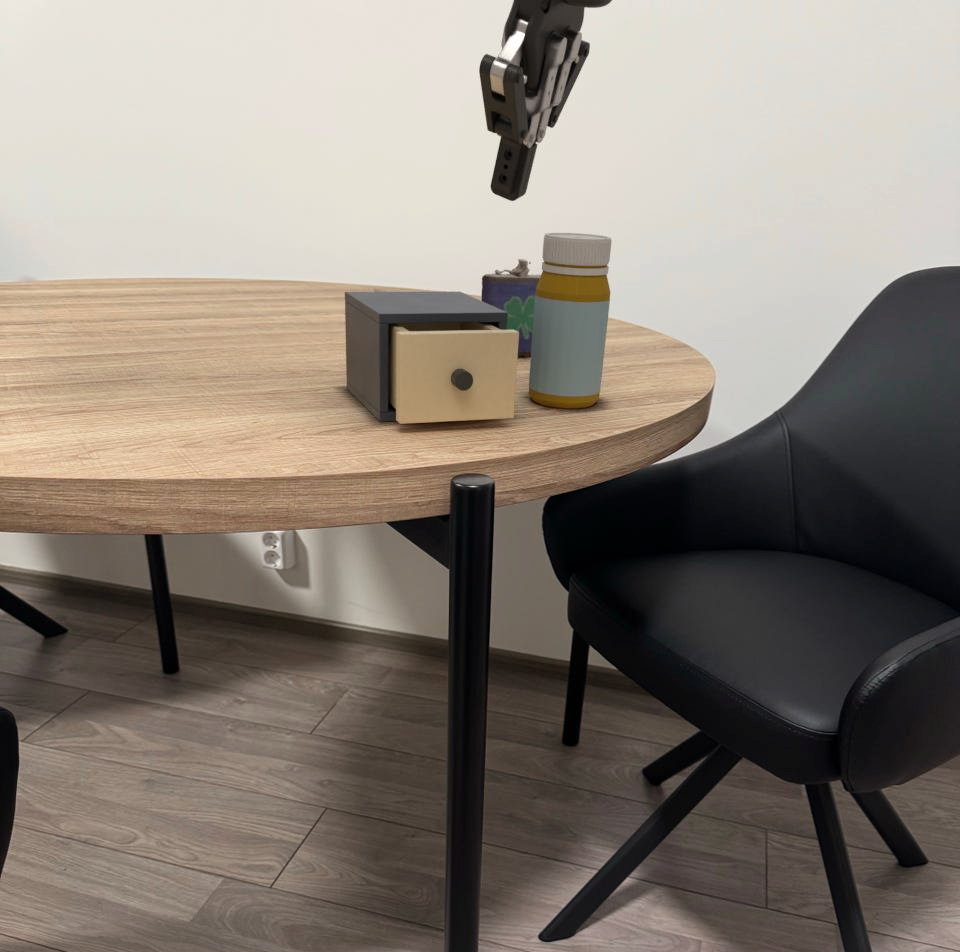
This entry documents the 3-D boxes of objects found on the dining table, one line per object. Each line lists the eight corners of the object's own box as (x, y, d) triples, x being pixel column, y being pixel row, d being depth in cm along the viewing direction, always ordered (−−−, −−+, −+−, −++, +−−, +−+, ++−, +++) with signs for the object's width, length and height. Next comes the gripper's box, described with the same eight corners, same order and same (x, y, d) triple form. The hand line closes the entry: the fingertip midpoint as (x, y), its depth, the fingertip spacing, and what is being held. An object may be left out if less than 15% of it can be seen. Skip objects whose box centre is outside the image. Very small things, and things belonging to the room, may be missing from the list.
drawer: (519, 421, 81) (525, 334, 78) (403, 427, 78) (404, 336, 75) (469, 388, 92) (472, 309, 88) (365, 392, 88) (364, 310, 85)
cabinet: (502, 415, 86) (508, 312, 82) (379, 422, 83) (379, 313, 78) (457, 384, 97) (460, 291, 93) (346, 388, 93) (344, 291, 89)
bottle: (513, 399, 92) (524, 233, 85) (557, 389, 97) (571, 231, 90) (569, 413, 88) (585, 241, 81) (612, 402, 93) (631, 238, 86)
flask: (546, 351, 115) (553, 257, 110) (556, 356, 112) (564, 260, 107) (475, 353, 112) (479, 256, 107) (484, 358, 109) (489, 260, 104)
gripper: (561, -125, 60) (500, 156, 73) (468, -123, 51) (416, 198, 63) (667, -89, 59) (587, 192, 71) (590, -80, 50) (513, 240, 62)
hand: (506, 194), depth 67 cm, fingers closed
